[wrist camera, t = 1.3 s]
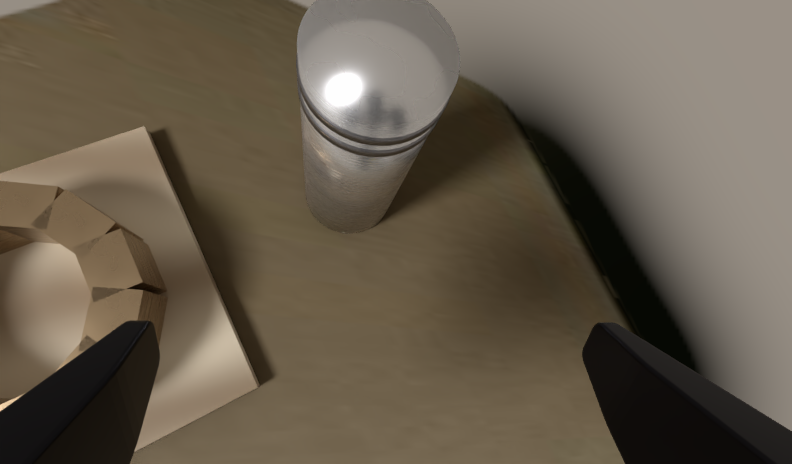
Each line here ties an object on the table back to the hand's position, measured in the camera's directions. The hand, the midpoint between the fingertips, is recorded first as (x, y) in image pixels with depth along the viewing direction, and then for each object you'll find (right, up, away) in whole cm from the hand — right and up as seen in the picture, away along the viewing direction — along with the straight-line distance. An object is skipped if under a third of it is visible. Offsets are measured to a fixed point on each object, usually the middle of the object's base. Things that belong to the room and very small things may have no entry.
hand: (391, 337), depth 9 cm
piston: (-2, +4, +15) cm, 16 cm away
